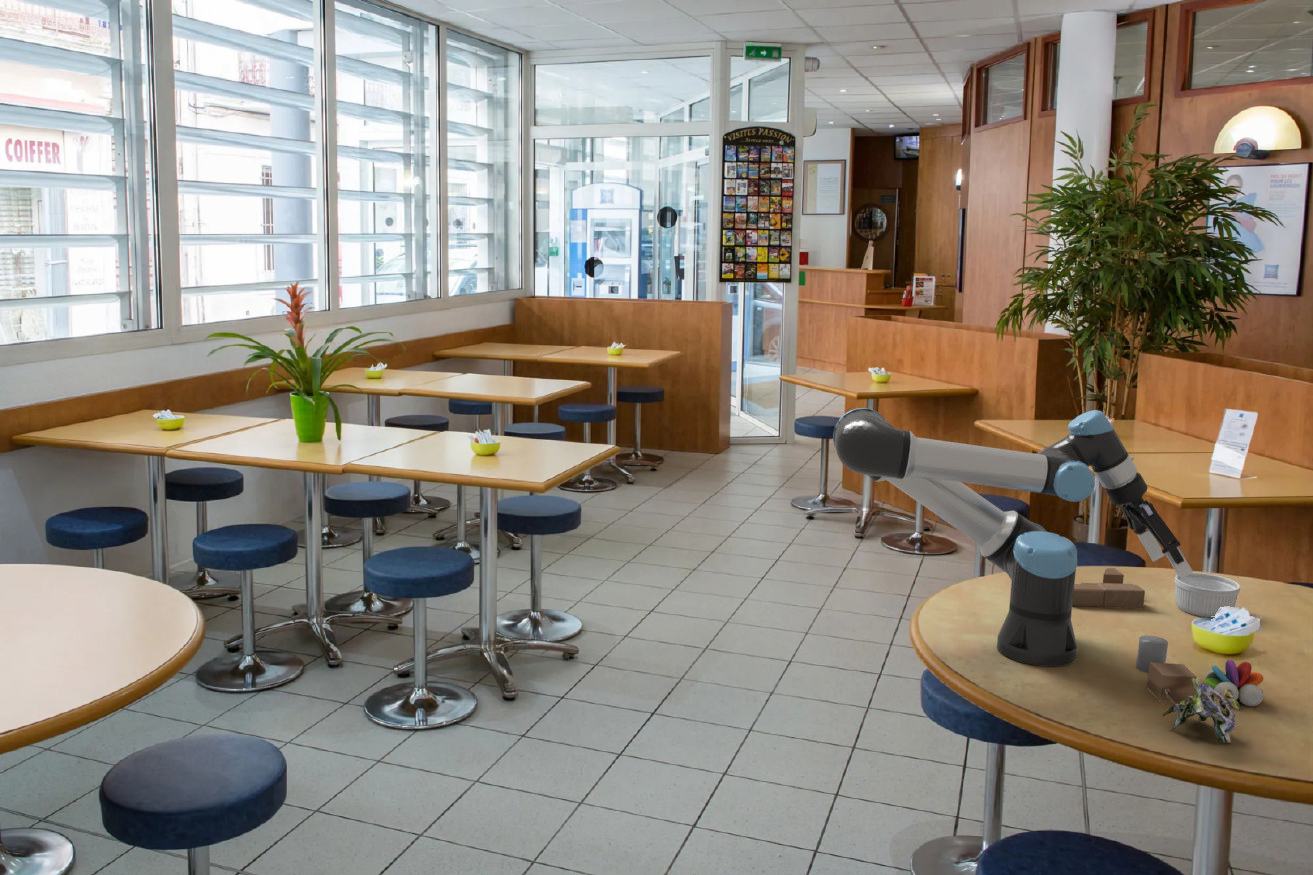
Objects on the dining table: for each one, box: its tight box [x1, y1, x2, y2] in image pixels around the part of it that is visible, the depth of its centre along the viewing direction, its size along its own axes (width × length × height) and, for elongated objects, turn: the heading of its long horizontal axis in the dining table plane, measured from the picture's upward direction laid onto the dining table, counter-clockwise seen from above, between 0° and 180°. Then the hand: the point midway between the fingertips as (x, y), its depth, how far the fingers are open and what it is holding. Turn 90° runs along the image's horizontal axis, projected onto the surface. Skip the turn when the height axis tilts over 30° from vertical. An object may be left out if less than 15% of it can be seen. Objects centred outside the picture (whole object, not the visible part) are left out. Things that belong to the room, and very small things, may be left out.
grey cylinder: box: [1136, 634, 1169, 675], centre depth 205 cm, size 5×5×6 cm
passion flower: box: [1161, 678, 1242, 744], centre depth 177 cm, size 11×11×12 cm
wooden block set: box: [1072, 567, 1146, 610], centre depth 249 cm, size 17×6×18 cm
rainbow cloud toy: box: [1204, 659, 1264, 707], centre depth 193 cm, size 8×10×7 cm
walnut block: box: [1146, 662, 1198, 703], centre depth 193 cm, size 6×6×5 cm
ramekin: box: [1174, 572, 1241, 618], centre depth 241 cm, size 13×13×7 cm
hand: (1172, 566), depth 220 cm, fingers open, 13 cm apart
